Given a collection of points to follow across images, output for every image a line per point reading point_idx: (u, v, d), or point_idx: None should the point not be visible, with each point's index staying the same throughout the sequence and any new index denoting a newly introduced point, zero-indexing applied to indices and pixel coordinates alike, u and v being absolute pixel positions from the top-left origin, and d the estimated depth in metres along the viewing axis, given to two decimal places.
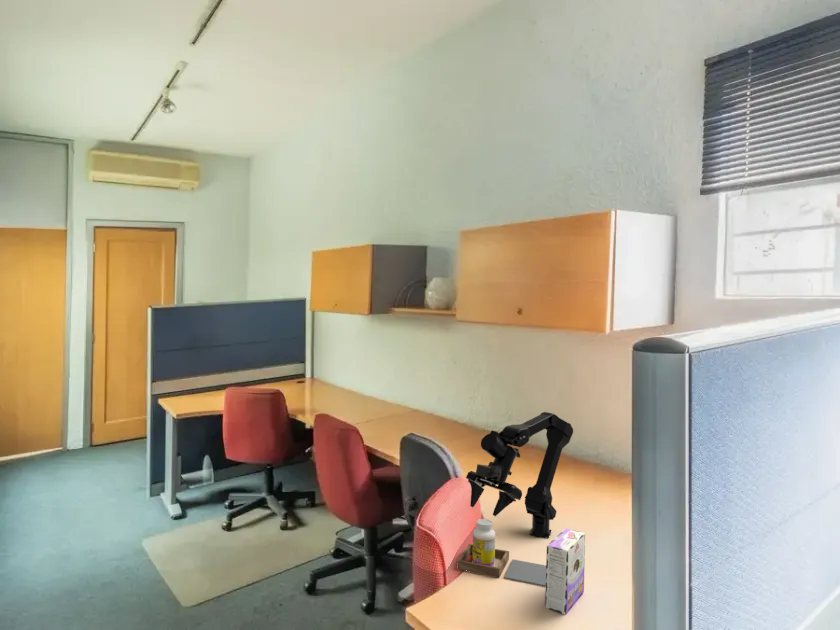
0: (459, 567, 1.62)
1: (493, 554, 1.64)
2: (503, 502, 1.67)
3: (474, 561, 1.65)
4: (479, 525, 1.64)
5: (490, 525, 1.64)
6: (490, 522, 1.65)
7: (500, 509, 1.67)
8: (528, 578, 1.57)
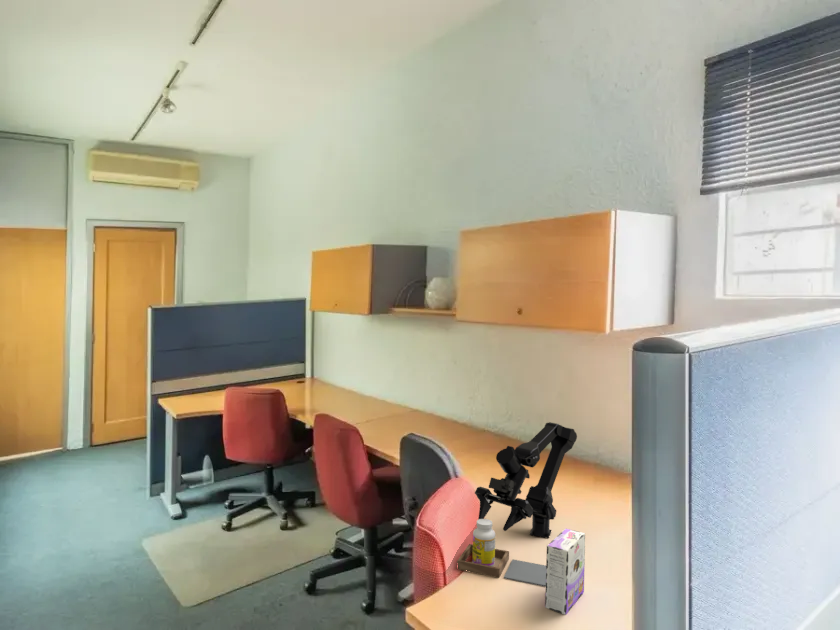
0: (459, 567, 1.62)
1: (493, 554, 1.64)
2: (514, 518, 1.67)
3: (474, 561, 1.65)
4: (479, 525, 1.64)
5: (490, 525, 1.64)
6: (490, 522, 1.65)
7: (510, 524, 1.66)
8: (528, 578, 1.57)
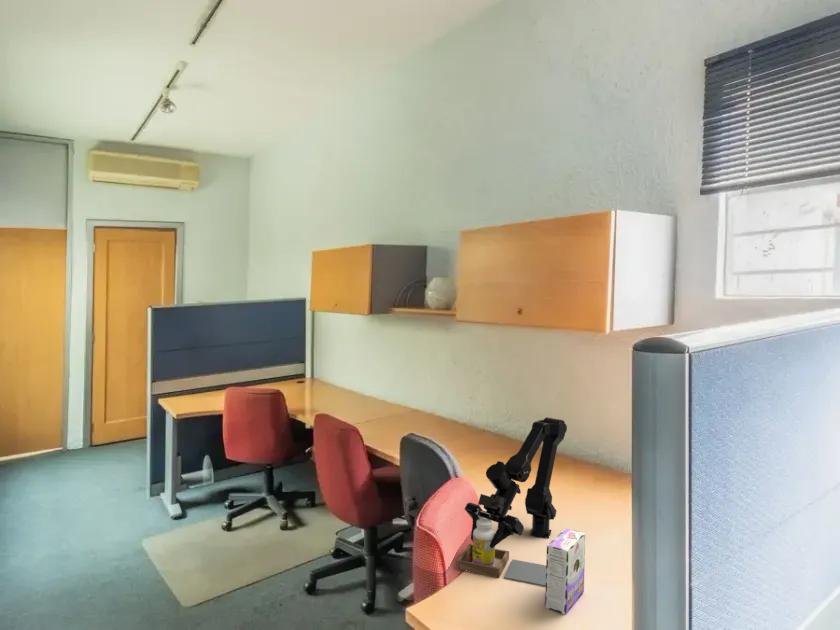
0: (459, 567, 1.62)
1: (493, 554, 1.64)
2: (501, 534, 1.64)
3: (474, 561, 1.65)
4: (479, 525, 1.64)
5: (490, 525, 1.64)
6: (490, 522, 1.65)
7: (497, 541, 1.63)
8: (528, 578, 1.57)
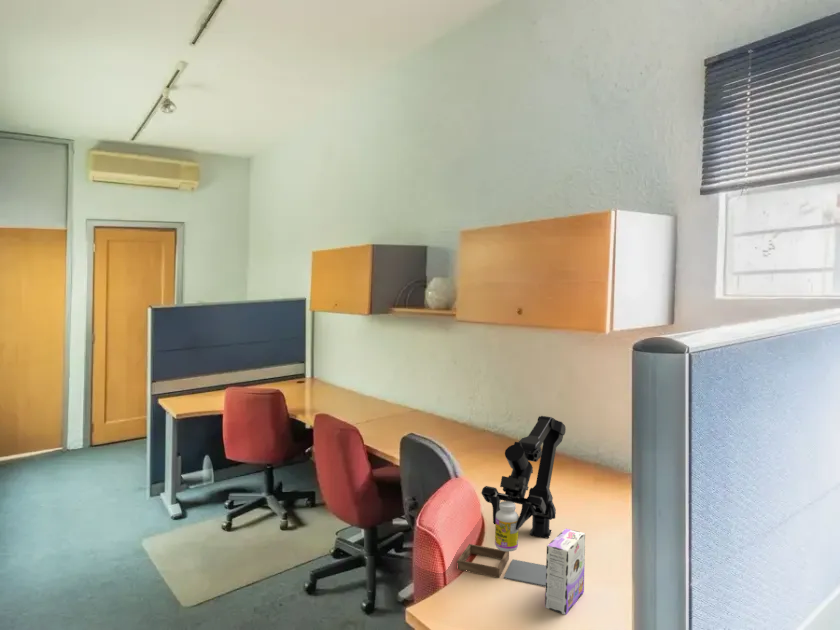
0: (459, 567, 1.62)
1: (517, 536, 1.62)
2: (525, 515, 1.62)
3: (499, 545, 1.61)
4: (504, 507, 1.61)
5: (514, 507, 1.61)
6: (513, 504, 1.62)
7: (522, 522, 1.61)
8: (528, 578, 1.57)
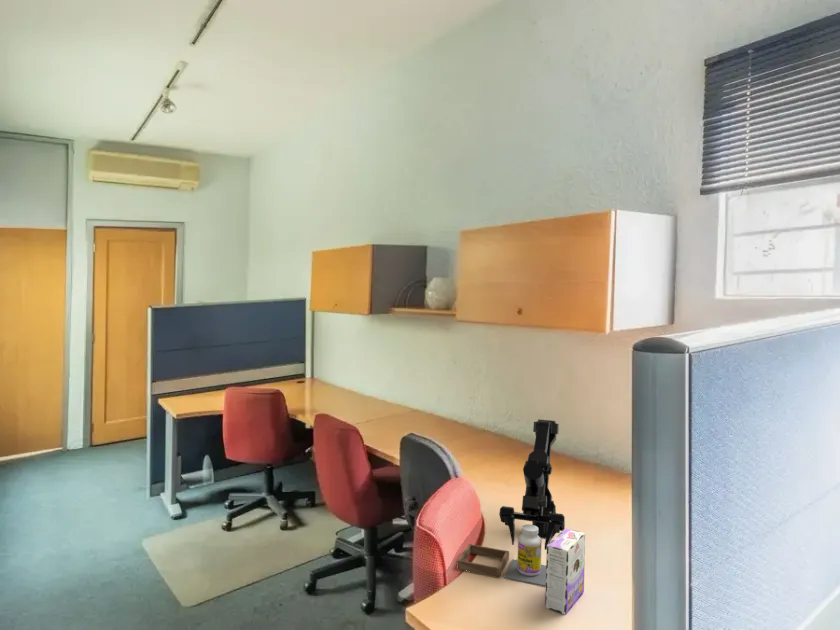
0: (459, 567, 1.62)
1: (540, 559, 1.61)
2: None
3: (524, 570, 1.59)
4: (528, 532, 1.59)
5: (537, 530, 1.60)
6: (536, 527, 1.61)
7: (549, 542, 1.60)
8: (528, 578, 1.57)
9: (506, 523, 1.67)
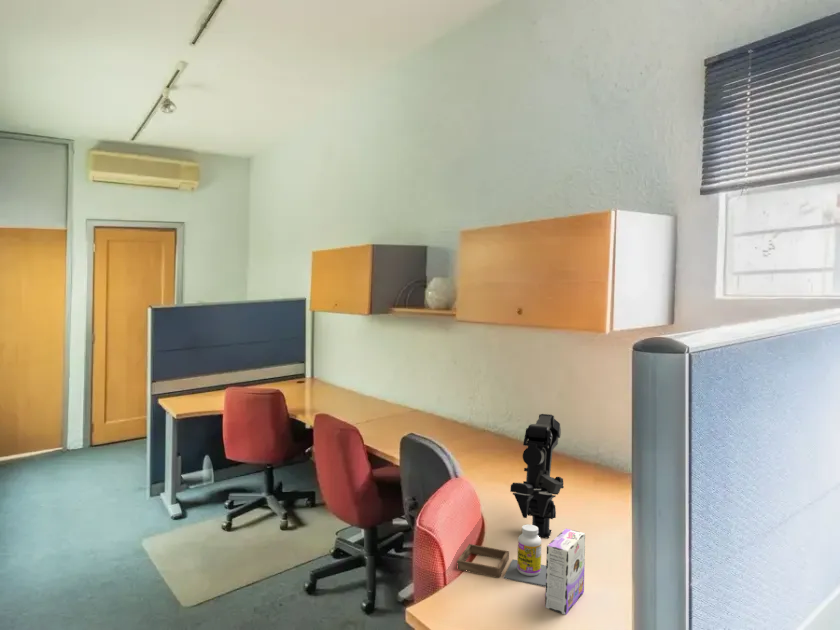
0: (459, 567, 1.62)
1: (540, 559, 1.61)
2: None
3: (524, 570, 1.59)
4: (528, 532, 1.59)
5: (537, 530, 1.60)
6: (536, 527, 1.61)
7: None
8: (528, 578, 1.57)
9: (517, 495, 1.70)
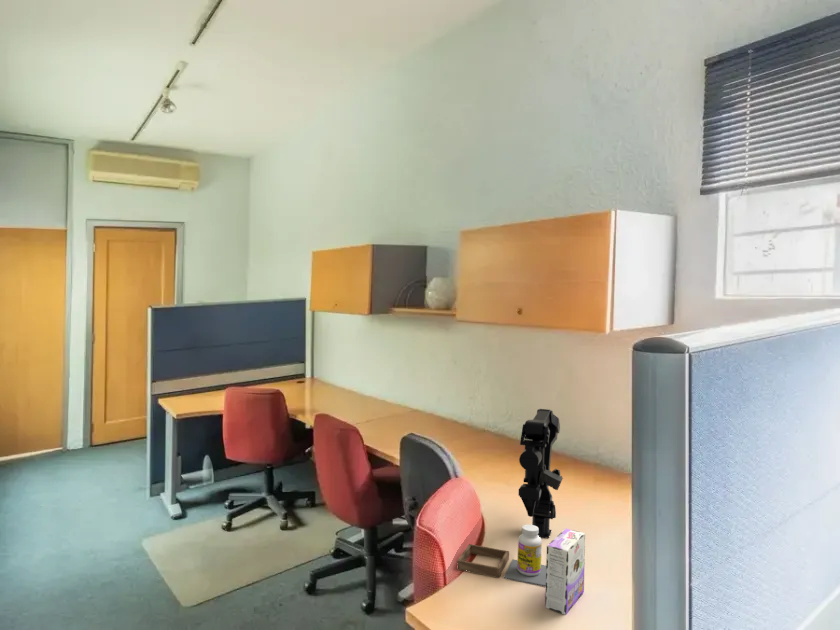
0: (459, 567, 1.62)
1: None
2: None
3: (524, 570, 1.59)
4: (529, 532, 1.59)
5: (538, 530, 1.60)
6: (536, 527, 1.61)
7: None
8: (528, 578, 1.57)
9: None
